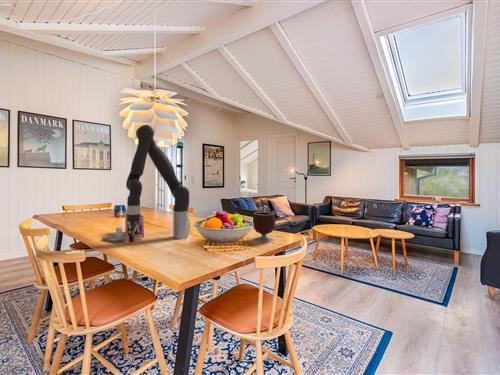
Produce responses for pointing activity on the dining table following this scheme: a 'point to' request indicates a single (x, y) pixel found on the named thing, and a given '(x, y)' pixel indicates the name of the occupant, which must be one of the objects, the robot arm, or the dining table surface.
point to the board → (114, 239)
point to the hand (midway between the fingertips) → (133, 240)
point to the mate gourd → (264, 225)
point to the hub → (134, 239)
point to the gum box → (141, 225)
